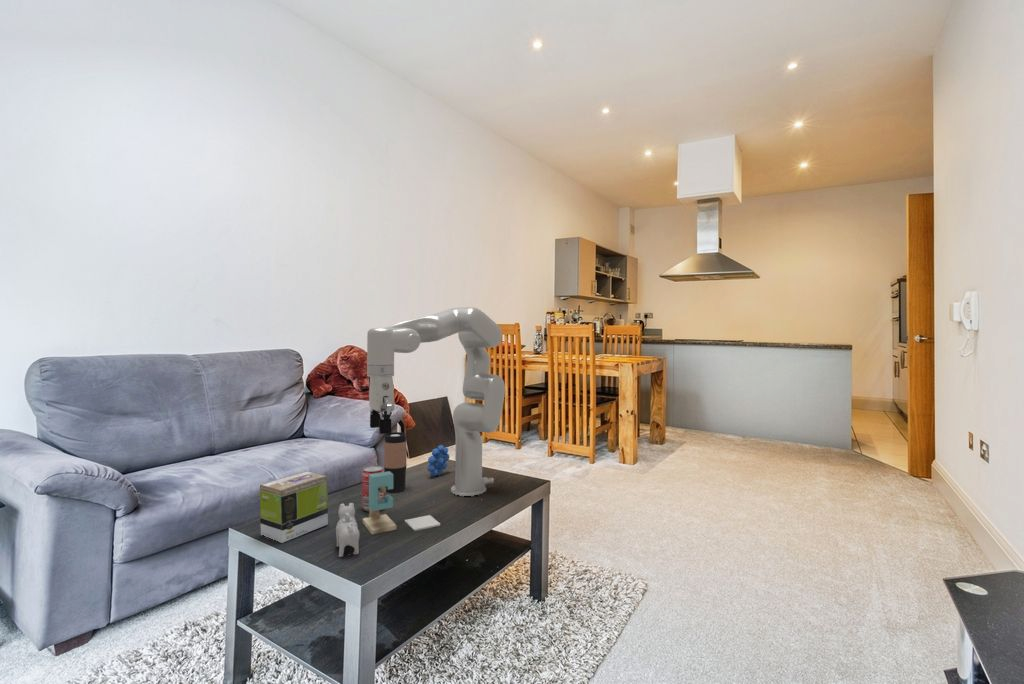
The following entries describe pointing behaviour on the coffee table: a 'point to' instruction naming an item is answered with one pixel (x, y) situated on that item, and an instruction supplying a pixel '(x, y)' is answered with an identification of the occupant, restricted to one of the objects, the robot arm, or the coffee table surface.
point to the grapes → (438, 460)
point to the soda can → (366, 485)
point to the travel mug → (395, 459)
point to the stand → (378, 520)
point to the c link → (374, 483)
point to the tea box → (293, 506)
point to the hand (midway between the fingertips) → (380, 430)
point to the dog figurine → (347, 529)
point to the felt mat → (422, 522)
